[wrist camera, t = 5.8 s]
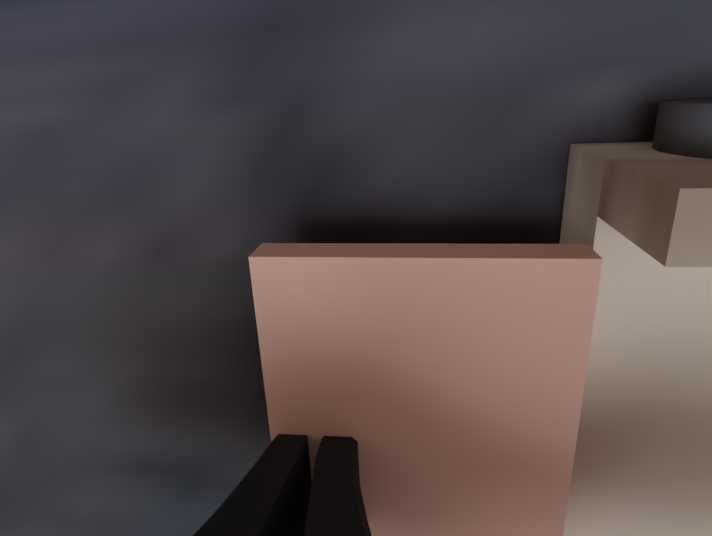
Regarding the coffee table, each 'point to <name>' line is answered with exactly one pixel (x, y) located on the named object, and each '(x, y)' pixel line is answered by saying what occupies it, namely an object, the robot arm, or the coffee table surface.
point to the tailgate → (434, 374)
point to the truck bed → (646, 329)
